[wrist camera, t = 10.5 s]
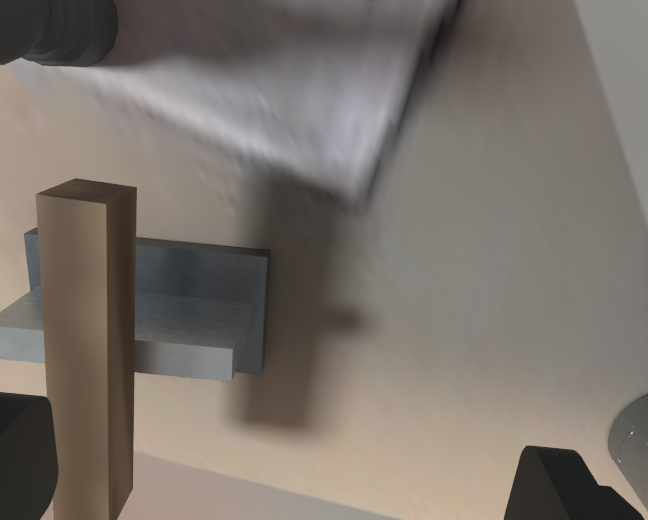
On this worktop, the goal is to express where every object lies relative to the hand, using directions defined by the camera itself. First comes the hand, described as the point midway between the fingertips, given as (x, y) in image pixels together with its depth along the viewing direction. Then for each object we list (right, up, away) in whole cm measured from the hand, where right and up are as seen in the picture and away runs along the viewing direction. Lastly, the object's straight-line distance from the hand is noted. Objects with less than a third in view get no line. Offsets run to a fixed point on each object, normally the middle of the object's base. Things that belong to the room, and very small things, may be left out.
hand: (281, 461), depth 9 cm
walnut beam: (-13, -2, +24) cm, 28 cm away
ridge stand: (-13, 0, +32) cm, 35 cm away
